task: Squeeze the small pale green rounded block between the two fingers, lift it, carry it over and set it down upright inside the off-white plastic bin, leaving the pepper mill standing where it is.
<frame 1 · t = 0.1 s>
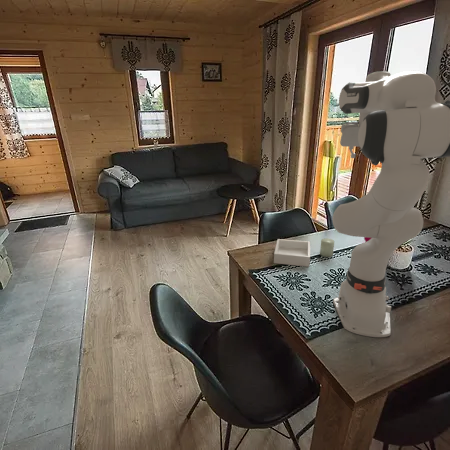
hand: (365, 158, 113), 48 cm above the table, tool pointing down, fingers open, 8 cm apart
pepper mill: (370, 247, 146), on the table
bin: (292, 256, 139), on the table
pale green rounded block: (326, 253, 141), on the table
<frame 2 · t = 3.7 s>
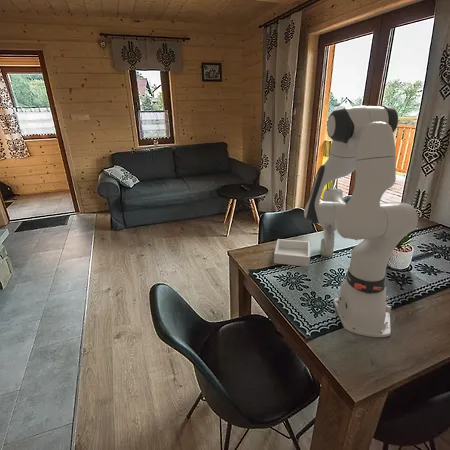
hand: (326, 248, 139), 3 cm above the table, tool pointing down, fingers closed on pale green rounded block, 6 cm apart
pale green rounded block: (326, 253, 141), on the table, touching gripper
everything else where it was.
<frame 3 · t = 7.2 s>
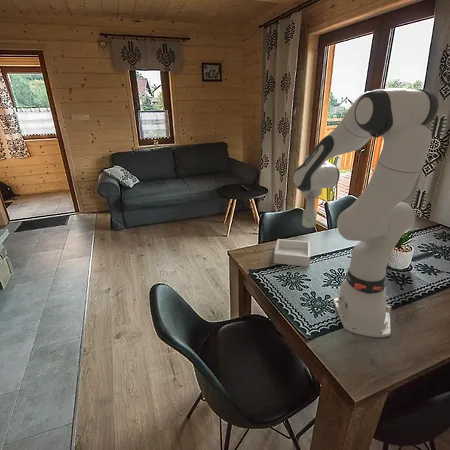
hand: (309, 218, 133), 19 cm above the table, tool pointing down, fingers closed on pale green rounded block, 6 cm apart
pale green rounded block: (308, 225, 134), point 16 cm above the table, touching gripper
everything else where it was.
when the fingers open (6 cm above the table, at t = 10.7 s): pale green rounded block drops 2 cm, resting on bin.
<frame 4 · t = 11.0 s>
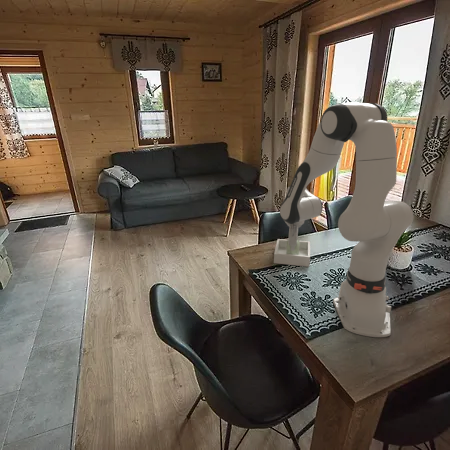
hand: (293, 245, 137), 6 cm above the table, tool pointing down, fingers open, 8 cm apart
pale green rounded block: (292, 254, 139), point 1 cm above the table, touching bin
everything else where it was.
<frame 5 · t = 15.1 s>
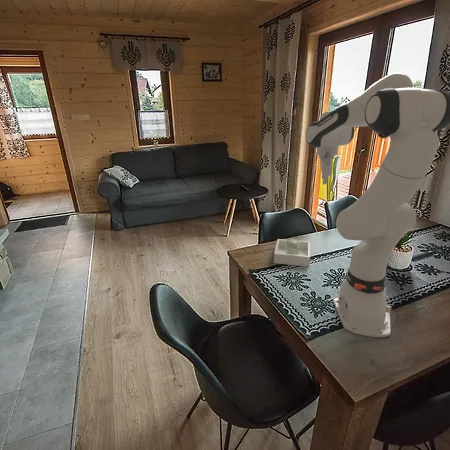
hand: (324, 181, 132), 35 cm above the table, tool pointing down, fingers open, 8 cm apart
nothing on the table moved.
at the end: pale green rounded block inside the target area on the bin (0.1 cm from its centre), point 1.0 cm above the bin's base; pale green rounded block tilted 1°; the gripper is holding nothing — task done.
